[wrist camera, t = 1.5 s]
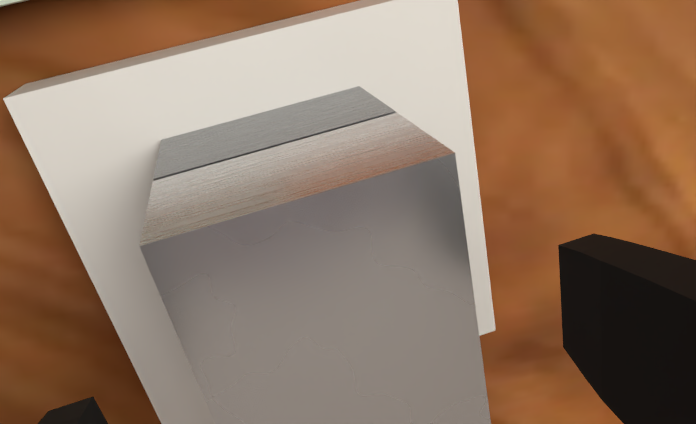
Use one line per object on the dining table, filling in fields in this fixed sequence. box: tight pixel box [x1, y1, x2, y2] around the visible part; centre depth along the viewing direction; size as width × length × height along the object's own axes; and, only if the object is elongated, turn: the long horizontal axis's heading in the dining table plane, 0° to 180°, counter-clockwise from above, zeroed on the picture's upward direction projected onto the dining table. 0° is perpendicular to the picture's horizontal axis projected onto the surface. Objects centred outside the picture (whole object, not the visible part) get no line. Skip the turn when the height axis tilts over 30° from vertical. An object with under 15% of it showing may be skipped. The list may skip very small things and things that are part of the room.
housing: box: [139, 86, 491, 424], centre depth 11 cm, size 6×4×5 cm
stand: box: [3, 0, 495, 424], centre depth 13 cm, size 9×9×2 cm
